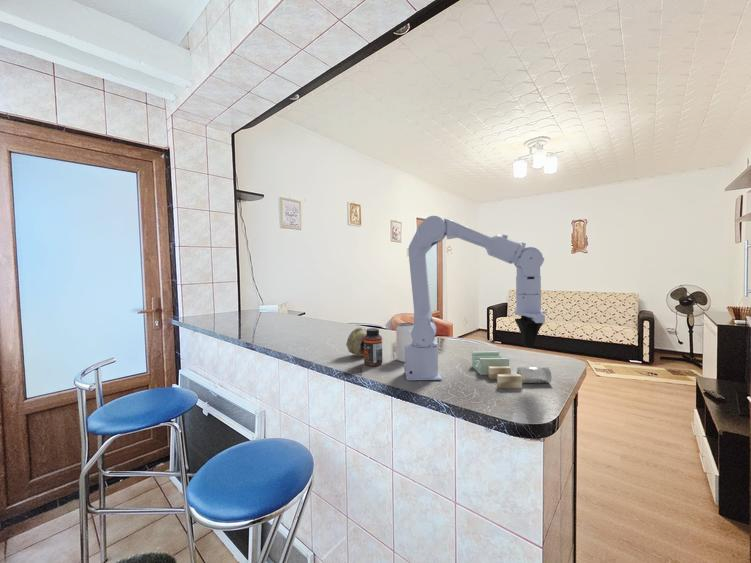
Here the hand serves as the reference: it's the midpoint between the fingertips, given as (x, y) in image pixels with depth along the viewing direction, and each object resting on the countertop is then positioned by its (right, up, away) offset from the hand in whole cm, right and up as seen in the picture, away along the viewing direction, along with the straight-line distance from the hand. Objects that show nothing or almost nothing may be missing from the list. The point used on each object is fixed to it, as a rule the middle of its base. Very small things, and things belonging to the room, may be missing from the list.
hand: (528, 346), depth 79 cm
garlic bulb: (-45, -10, +29) cm, 55 cm away
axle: (+1, -10, 0) cm, 10 cm away
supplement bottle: (-41, -10, +19) cm, 46 cm away
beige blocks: (-6, -10, 0) cm, 11 cm away
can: (-29, -10, +23) cm, 39 cm away
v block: (-6, -9, +10) cm, 15 cm away
